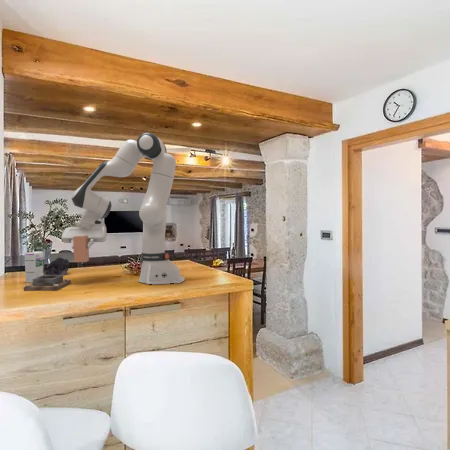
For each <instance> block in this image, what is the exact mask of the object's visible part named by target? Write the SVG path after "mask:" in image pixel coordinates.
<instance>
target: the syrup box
mask: <svg viewBox="0 0 450 450" xmlns="http://www.w3.org/2000/svg"><path fill="white" fill-rule="evenodd" d="M44 255H45V253H44V251H41V250H39V251H36V250H35V251H29V252H25V253H24V270H25V283H28V284H33V279H34V278H37V277H40V276H42V275H44V267H45V259H44V258H45V256H44Z"/></svg>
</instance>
